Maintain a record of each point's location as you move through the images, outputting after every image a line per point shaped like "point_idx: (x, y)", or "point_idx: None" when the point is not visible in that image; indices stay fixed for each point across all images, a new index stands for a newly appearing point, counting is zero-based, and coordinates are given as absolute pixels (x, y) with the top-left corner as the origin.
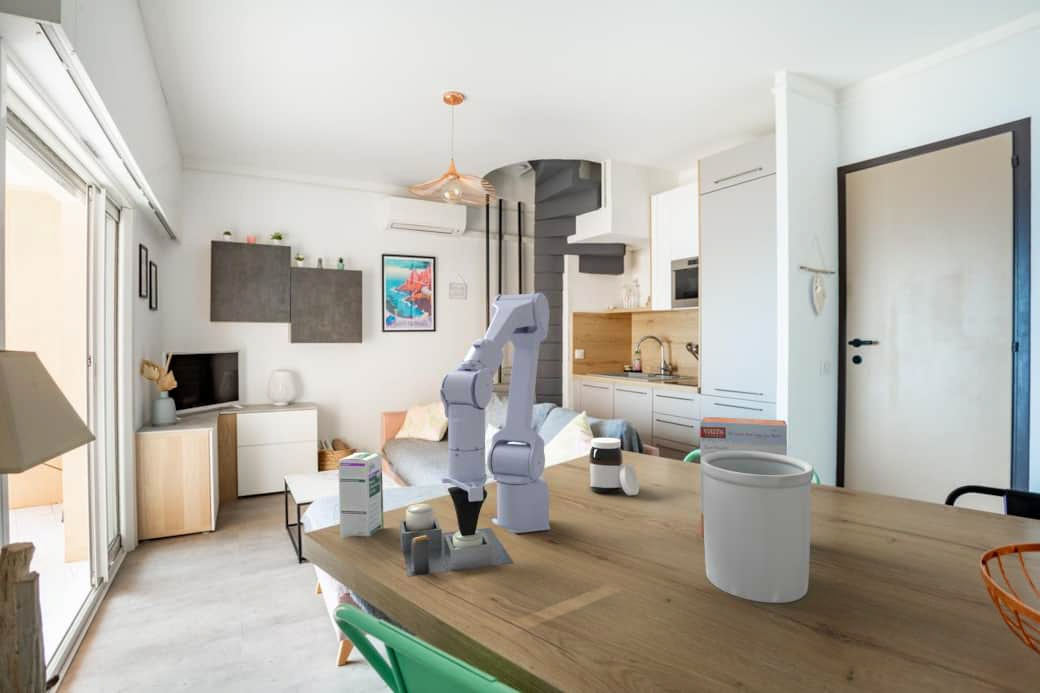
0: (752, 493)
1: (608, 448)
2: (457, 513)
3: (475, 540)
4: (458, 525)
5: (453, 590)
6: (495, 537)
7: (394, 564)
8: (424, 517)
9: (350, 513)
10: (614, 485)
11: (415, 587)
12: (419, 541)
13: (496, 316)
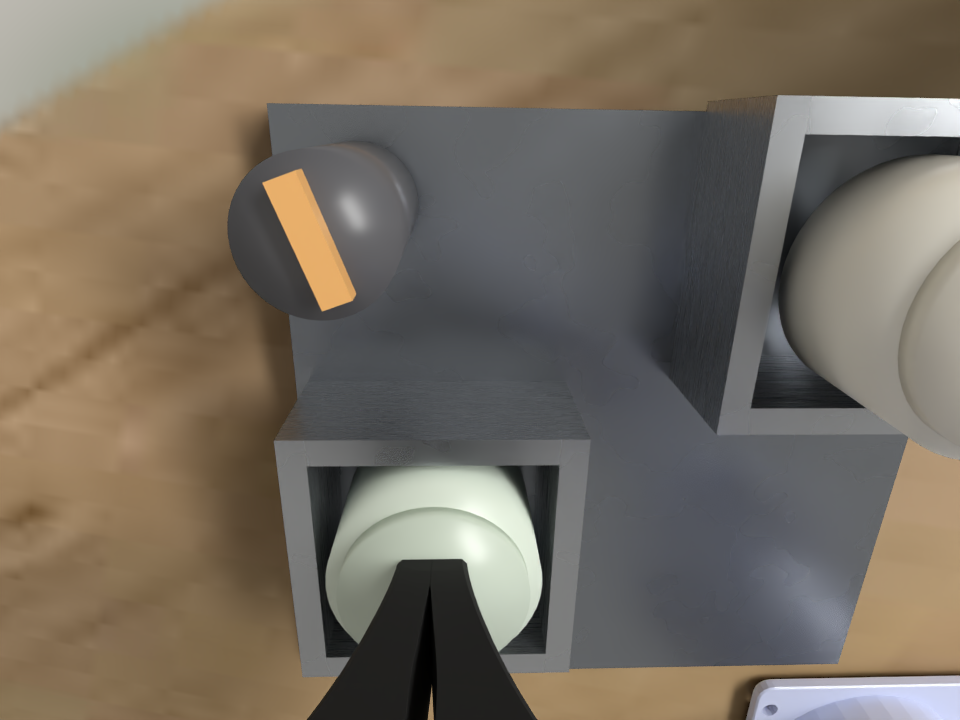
0: None
1: None
2: (362, 695)
3: (339, 617)
4: (456, 593)
5: (145, 355)
6: (684, 661)
7: (611, 36)
8: (852, 346)
9: None
10: None
11: (215, 149)
12: (266, 227)
13: None
